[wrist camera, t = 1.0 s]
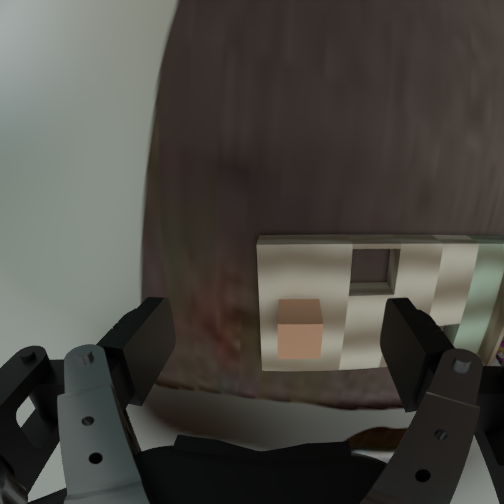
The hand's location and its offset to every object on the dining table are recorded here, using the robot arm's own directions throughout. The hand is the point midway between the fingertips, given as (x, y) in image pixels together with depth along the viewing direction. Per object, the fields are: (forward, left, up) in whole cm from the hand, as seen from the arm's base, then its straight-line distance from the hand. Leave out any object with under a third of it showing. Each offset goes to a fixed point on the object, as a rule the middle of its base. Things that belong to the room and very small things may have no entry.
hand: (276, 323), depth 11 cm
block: (+11, +2, -18) cm, 21 cm away
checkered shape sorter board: (+11, +13, -21) cm, 26 cm away
